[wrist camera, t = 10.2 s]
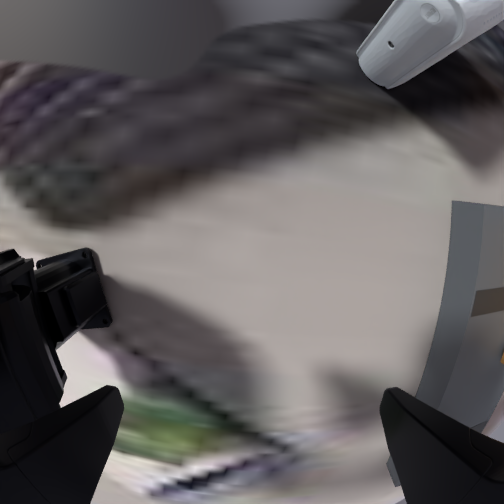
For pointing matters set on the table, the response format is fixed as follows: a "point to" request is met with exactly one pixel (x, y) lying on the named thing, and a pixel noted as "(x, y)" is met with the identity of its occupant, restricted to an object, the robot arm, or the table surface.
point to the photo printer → (422, 36)
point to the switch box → (468, 322)
